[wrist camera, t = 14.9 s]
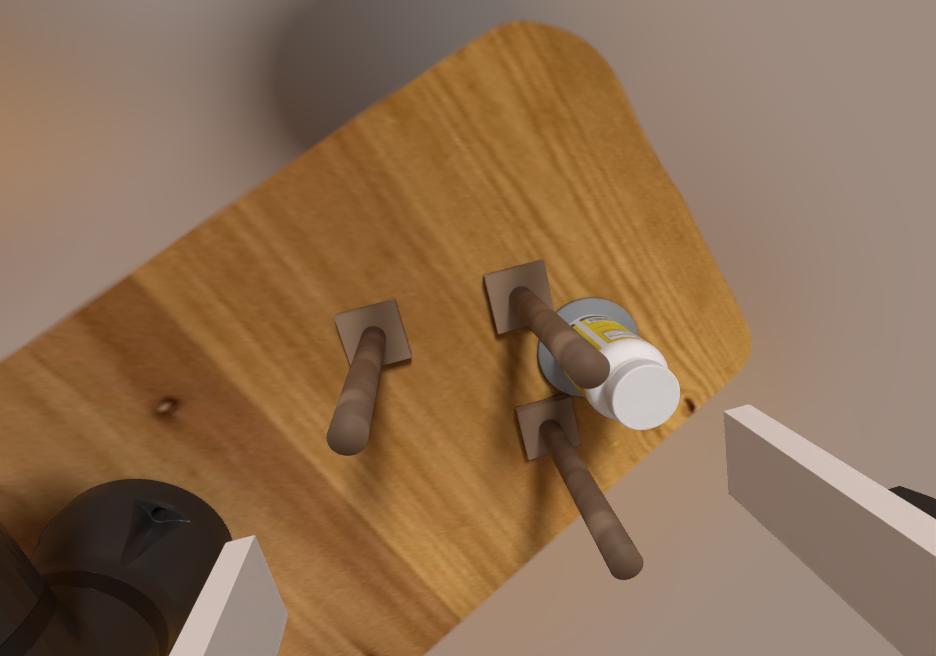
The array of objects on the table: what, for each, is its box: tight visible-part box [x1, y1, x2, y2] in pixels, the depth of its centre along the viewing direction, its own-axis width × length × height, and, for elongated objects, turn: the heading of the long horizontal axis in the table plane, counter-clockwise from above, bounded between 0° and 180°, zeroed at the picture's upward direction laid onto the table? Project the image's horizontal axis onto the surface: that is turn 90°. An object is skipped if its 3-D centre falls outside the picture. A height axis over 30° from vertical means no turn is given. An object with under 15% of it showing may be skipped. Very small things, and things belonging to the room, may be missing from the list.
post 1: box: [327, 299, 412, 456], centre depth 32 cm, size 5×5×18 cm
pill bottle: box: [559, 314, 680, 430], centre depth 37 cm, size 6×6×11 cm
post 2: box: [515, 393, 643, 580], centre depth 36 cm, size 5×5×18 cm
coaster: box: [538, 298, 639, 397], centre depth 43 cm, size 9×9×1 cm
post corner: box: [483, 260, 610, 389], centre depth 33 cm, size 5×5×18 cm
